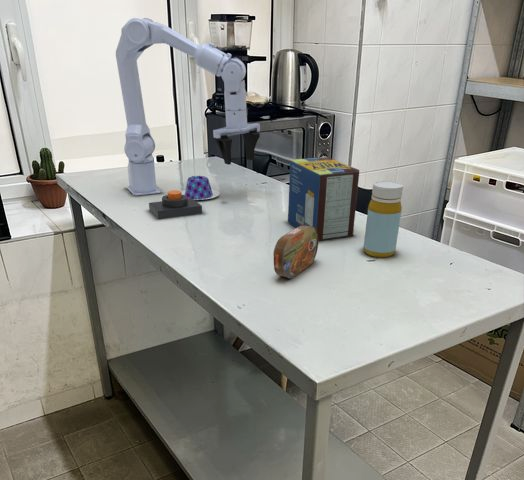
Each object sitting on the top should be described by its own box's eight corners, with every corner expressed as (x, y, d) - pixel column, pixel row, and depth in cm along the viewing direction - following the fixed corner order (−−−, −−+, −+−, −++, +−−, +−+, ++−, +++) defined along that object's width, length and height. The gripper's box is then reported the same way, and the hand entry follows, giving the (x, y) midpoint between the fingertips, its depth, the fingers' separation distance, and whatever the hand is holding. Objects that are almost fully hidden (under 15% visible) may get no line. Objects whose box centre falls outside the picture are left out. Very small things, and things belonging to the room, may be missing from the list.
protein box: (322, 217, 141) (327, 156, 133) (353, 236, 129) (360, 170, 121) (286, 222, 138) (289, 159, 130) (315, 242, 126) (319, 173, 118)
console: (158, 219, 138) (156, 204, 136) (149, 210, 144) (147, 195, 142) (202, 213, 142) (201, 198, 140) (191, 205, 149) (191, 191, 146)
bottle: (376, 260, 116) (385, 190, 109) (356, 249, 122) (364, 182, 114) (401, 255, 119) (412, 186, 111) (381, 245, 125) (390, 178, 117)
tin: (283, 284, 105) (285, 243, 101) (269, 280, 107) (270, 239, 102) (318, 260, 116) (321, 221, 112) (305, 257, 117) (307, 219, 113)
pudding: (222, 201, 153) (221, 182, 150) (179, 203, 150) (178, 184, 148) (216, 190, 163) (216, 172, 160) (176, 191, 160) (175, 173, 158)
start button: (170, 201, 139) (169, 194, 138) (166, 197, 142) (165, 191, 141) (183, 199, 141) (183, 193, 140) (179, 196, 143) (178, 189, 142)
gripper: (222, 114, 139) (225, 168, 146) (266, 107, 146) (267, 159, 153) (207, 111, 144) (211, 164, 151) (250, 105, 151) (252, 156, 158)
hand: (238, 161), depth 152 cm, fingers open, 7 cm apart
